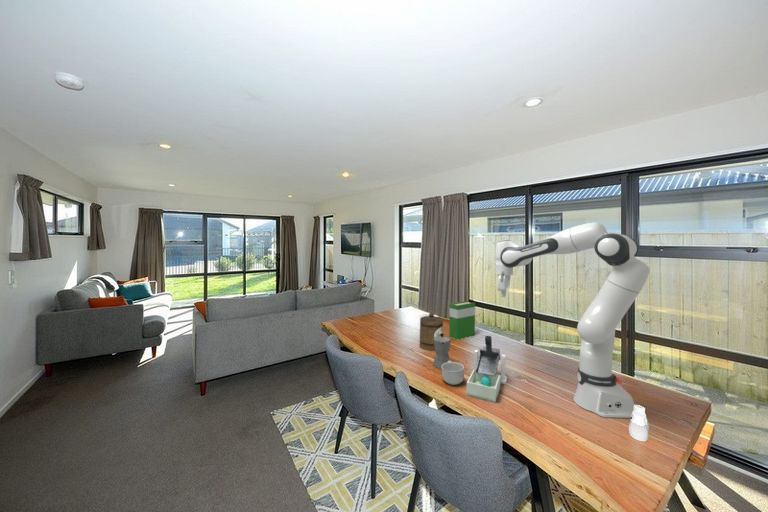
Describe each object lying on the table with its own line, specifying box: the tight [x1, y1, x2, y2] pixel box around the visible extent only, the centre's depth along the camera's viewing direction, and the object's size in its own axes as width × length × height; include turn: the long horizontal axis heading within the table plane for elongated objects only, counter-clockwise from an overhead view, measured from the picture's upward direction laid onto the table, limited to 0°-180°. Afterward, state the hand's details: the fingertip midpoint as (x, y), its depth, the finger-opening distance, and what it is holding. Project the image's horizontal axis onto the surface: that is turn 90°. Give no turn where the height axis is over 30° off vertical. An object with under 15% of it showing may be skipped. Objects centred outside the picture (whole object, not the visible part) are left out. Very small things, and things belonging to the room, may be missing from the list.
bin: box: [466, 369, 501, 403], centre depth 134 cm, size 12×14×6 cm
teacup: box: [441, 360, 465, 386], centre depth 144 cm, size 14×11×8 cm
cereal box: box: [449, 300, 476, 340], centre depth 209 cm, size 18×7×24 cm, turn 122°
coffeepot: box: [433, 333, 452, 370], centre depth 162 cm, size 15×9×18 cm, turn 174°
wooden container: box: [419, 312, 444, 351], centre depth 190 cm, size 15×15×22 cm
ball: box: [481, 377, 490, 386], centre depth 137 cm, size 4×4×4 cm
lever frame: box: [473, 349, 508, 385], centre depth 147 cm, size 16×6×13 cm, turn 61°
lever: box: [475, 335, 502, 377], centre depth 142 cm, size 10×18×16 cm, turn 151°
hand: (503, 296), depth 156 cm, fingers closed
